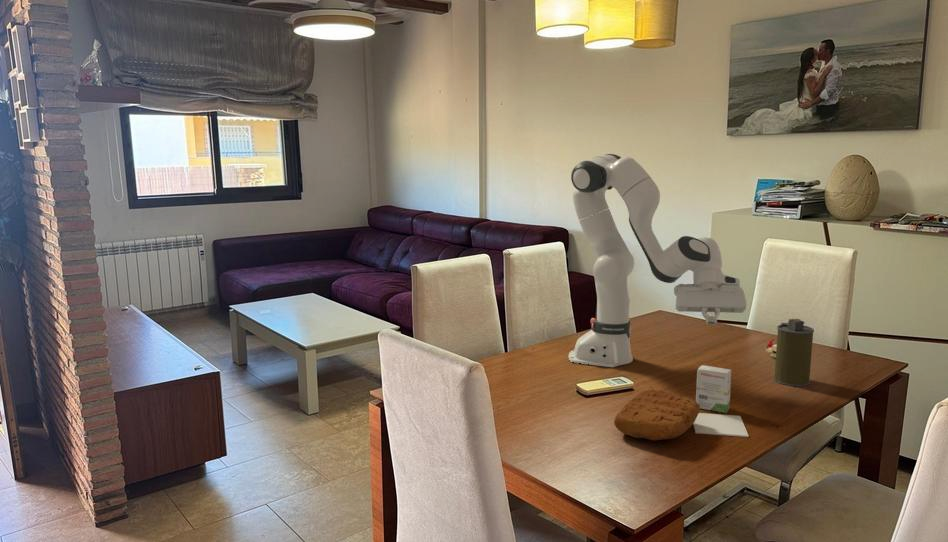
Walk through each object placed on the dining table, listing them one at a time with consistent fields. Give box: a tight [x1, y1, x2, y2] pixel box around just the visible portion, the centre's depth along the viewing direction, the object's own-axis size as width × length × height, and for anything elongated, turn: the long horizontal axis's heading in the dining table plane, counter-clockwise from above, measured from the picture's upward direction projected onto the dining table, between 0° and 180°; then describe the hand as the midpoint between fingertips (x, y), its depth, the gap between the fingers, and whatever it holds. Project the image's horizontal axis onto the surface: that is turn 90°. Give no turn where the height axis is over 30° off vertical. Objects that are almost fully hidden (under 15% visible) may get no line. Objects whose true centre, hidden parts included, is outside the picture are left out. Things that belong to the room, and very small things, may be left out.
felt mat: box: [692, 412, 750, 438], centre depth 173 cm, size 13×13×1 cm
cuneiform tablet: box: [613, 389, 701, 441], centre depth 169 cm, size 22×17×8 cm
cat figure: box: [765, 337, 777, 358], centre depth 234 cm, size 10×9×25 cm
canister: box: [773, 318, 815, 387], centre depth 203 cm, size 11×10×20 cm
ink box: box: [695, 364, 732, 414], centre depth 183 cm, size 8×5×12 cm, turn 57°
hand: (711, 322), depth 193 cm, fingers closed
